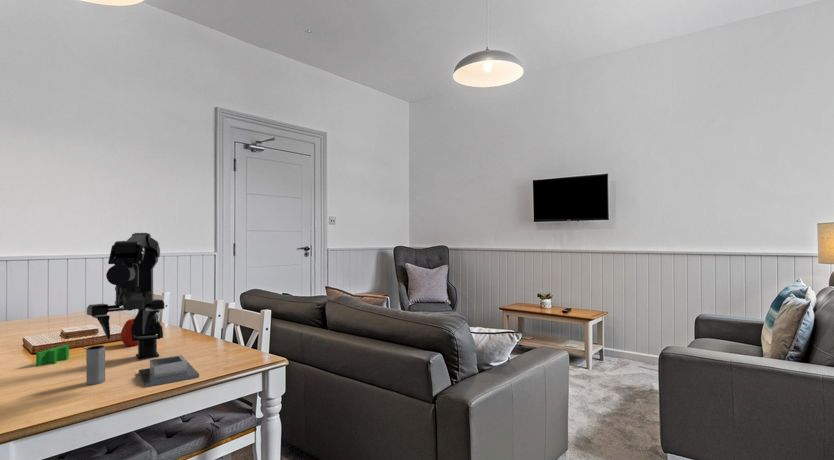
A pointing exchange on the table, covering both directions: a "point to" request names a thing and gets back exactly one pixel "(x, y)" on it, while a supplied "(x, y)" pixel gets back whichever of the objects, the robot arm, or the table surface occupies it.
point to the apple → (128, 334)
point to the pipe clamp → (52, 355)
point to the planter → (95, 364)
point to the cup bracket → (167, 371)
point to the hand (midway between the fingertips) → (126, 336)
